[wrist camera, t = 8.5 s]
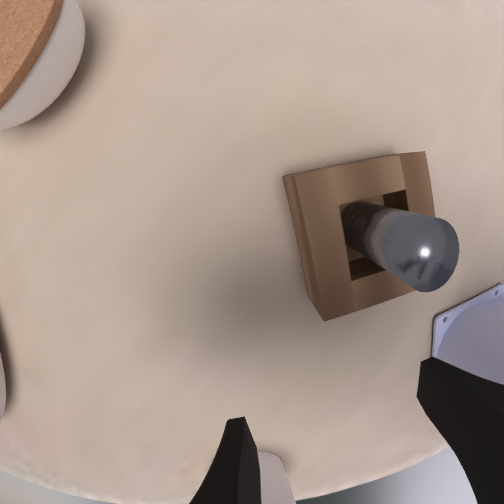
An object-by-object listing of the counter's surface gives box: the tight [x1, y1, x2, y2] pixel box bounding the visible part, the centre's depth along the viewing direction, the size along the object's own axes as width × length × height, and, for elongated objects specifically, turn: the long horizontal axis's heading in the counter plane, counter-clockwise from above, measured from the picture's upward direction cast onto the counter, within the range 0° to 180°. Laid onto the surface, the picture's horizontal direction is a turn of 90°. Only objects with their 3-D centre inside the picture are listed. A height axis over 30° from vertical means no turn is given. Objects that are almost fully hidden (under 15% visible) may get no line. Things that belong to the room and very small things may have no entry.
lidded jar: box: [0, 0, 85, 130], centre depth 10 cm, size 11×11×9 cm
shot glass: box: [257, 451, 296, 504], centre depth 20 cm, size 7×7×7 cm
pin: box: [340, 202, 459, 292], centre depth 14 cm, size 3×3×8 cm
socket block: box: [283, 151, 435, 321], centre depth 17 cm, size 8×8×4 cm
